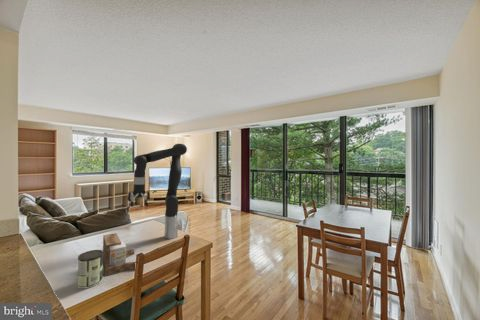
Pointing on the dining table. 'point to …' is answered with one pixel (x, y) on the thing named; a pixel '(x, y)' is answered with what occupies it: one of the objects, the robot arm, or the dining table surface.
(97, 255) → the coffee can
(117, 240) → the shelf bay
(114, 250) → the ink box
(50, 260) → the dining table surface
